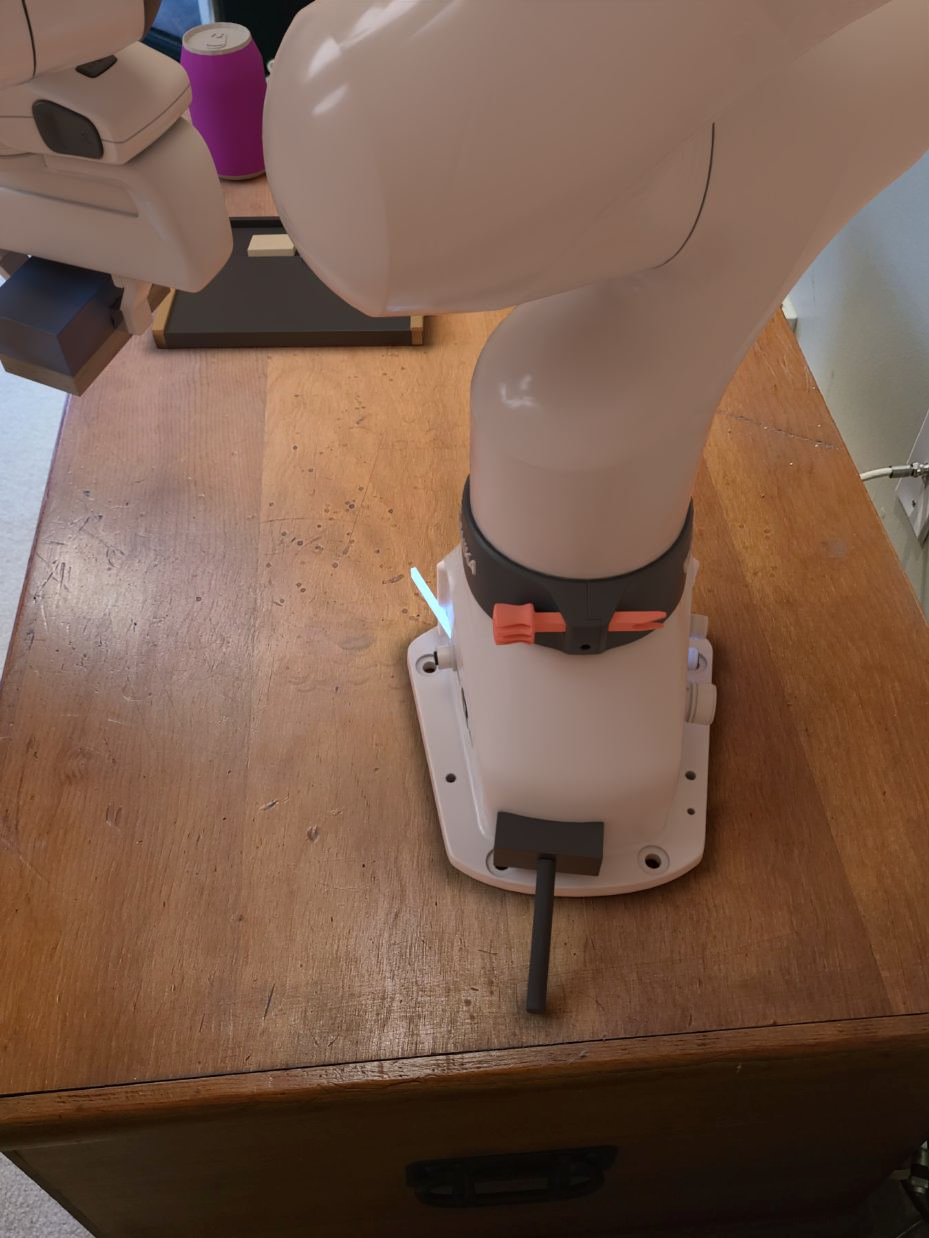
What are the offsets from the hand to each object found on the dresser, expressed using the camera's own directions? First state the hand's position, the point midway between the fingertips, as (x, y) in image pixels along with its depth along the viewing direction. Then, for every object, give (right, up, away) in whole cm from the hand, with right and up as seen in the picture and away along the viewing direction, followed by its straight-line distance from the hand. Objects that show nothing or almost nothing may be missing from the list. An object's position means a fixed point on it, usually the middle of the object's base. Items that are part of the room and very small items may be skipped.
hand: (88, 316), depth 58 cm
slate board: (+8, +9, +26) cm, 29 cm away
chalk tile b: (+5, +15, +30) cm, 34 cm away
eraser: (0, -1, +1) cm, 1 cm away
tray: (+8, +16, +32) cm, 37 cm away
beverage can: (-1, +28, +42) cm, 50 cm away
